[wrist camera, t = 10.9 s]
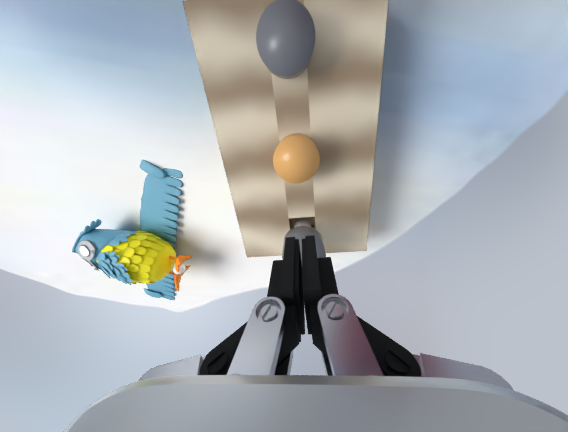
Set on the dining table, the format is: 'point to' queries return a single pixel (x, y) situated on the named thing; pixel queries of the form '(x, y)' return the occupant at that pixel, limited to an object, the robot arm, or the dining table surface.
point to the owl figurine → (141, 239)
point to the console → (295, 117)
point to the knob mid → (296, 158)
